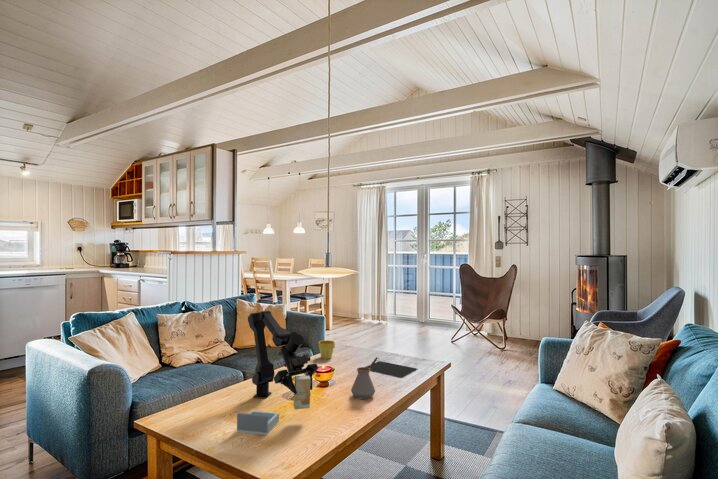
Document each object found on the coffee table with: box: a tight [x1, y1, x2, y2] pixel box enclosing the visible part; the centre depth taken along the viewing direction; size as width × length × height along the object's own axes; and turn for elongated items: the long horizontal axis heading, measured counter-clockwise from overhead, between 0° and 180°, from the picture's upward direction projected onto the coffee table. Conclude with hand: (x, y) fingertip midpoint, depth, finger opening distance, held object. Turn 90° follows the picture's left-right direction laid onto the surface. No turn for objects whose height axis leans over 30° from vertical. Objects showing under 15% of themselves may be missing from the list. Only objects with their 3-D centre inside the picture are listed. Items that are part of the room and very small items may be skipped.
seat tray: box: [236, 409, 280, 436], centre depth 157 cm, size 12×12×7 cm
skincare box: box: [293, 375, 311, 410], centre depth 164 cm, size 6×4×12 cm
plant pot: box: [318, 339, 336, 360], centre depth 255 cm, size 10×10×10 cm
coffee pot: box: [350, 357, 380, 400], centre depth 195 cm, size 21×12×15 cm, turn 152°
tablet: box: [365, 360, 419, 379], centre depth 233 cm, size 27×1×20 cm
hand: (304, 391), depth 163 cm, fingers closed on skincare box, 7 cm apart
